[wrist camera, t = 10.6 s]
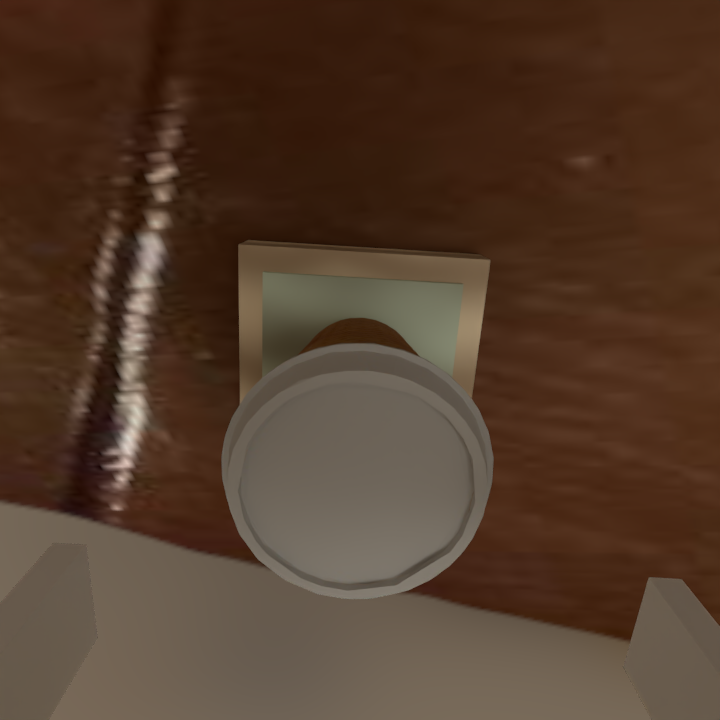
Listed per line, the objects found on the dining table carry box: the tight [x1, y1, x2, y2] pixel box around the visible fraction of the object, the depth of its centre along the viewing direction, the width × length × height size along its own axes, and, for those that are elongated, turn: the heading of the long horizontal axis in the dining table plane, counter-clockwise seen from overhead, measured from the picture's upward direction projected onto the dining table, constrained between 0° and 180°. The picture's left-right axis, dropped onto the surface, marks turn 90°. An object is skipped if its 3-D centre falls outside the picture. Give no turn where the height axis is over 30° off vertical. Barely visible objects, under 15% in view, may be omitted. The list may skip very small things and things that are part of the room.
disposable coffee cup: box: [222, 318, 494, 599], centre depth 23 cm, size 10×10×12 cm
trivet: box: [238, 240, 490, 404], centre depth 30 cm, size 13×13×3 cm
